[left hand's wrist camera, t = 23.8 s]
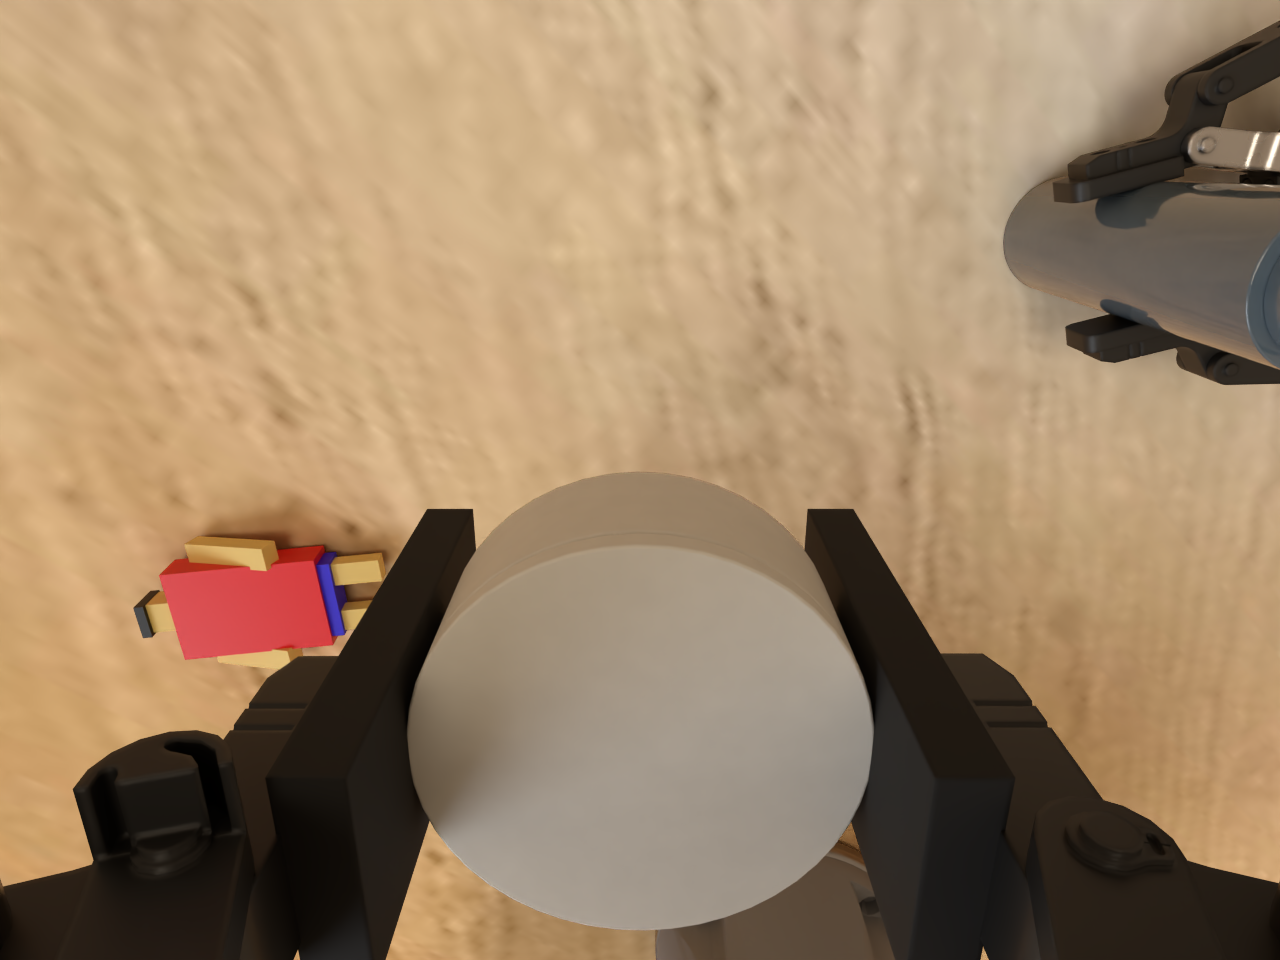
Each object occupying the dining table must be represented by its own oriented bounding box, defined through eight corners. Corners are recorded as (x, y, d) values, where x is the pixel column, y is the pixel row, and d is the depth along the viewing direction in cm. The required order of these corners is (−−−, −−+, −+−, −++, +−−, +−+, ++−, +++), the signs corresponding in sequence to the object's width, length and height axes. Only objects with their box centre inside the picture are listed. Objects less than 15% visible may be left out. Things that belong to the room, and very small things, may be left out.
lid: (376, 560, 12) (316, 652, 10) (752, 405, 11) (780, 468, 9) (550, 847, 14) (532, 980, 11) (882, 732, 13) (934, 852, 11)
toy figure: (368, 538, 41) (115, 563, 41) (393, 660, 43) (155, 684, 43) (379, 519, 43) (140, 541, 43) (403, 635, 46) (177, 658, 45)
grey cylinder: (1085, 303, 39) (1439, 418, 22) (985, 275, 39) (1266, 369, 21) (1134, 193, 37) (1560, 224, 20) (1030, 163, 37) (1375, 166, 20)
